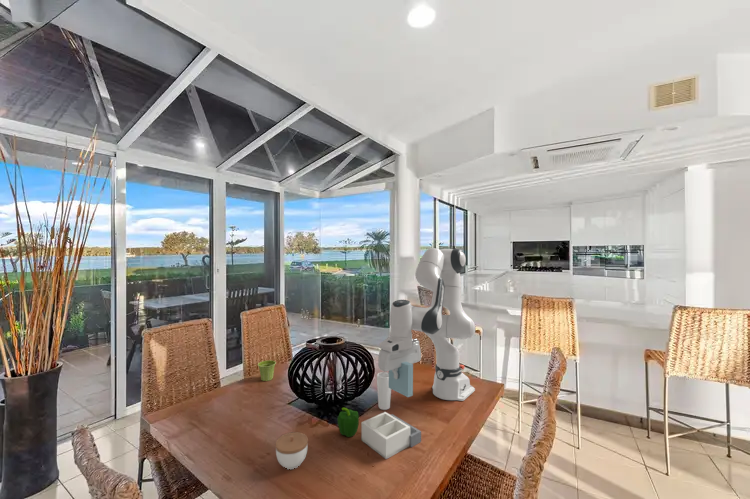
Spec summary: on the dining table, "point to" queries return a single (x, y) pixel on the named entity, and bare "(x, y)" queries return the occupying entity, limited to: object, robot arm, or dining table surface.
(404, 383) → the door
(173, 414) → the dining table surface
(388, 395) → the drinking glass
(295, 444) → the lidded jar
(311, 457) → the dining table surface
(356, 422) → the bell pepper
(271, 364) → the plant pot
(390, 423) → the cabinet
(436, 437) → the dining table surface
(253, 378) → the dining table surface
